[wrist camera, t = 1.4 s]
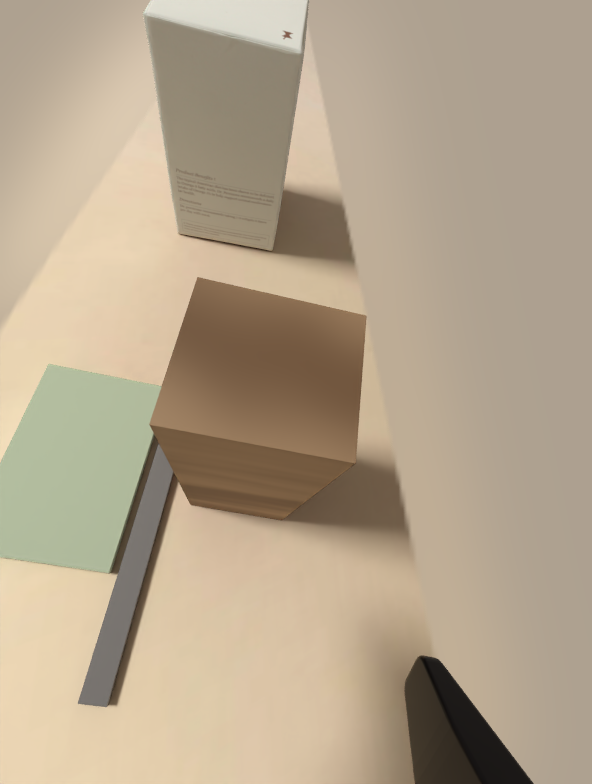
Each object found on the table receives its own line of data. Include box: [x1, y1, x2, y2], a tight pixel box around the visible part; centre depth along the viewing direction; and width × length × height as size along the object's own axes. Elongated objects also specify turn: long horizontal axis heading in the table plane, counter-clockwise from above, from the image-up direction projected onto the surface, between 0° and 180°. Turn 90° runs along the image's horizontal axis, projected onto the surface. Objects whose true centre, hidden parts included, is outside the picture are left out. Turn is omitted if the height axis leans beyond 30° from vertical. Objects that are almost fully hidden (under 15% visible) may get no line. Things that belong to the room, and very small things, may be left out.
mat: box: [0, 364, 162, 573], centre depth 20 cm, size 10×7×1 cm
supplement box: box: [143, 0, 309, 251], centre depth 24 cm, size 7×7×13 cm
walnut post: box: [149, 277, 366, 520], centre depth 16 cm, size 4×5×13 cm
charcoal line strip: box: [78, 443, 174, 707], centre depth 21 cm, size 22×1×1 cm, turn 172°
